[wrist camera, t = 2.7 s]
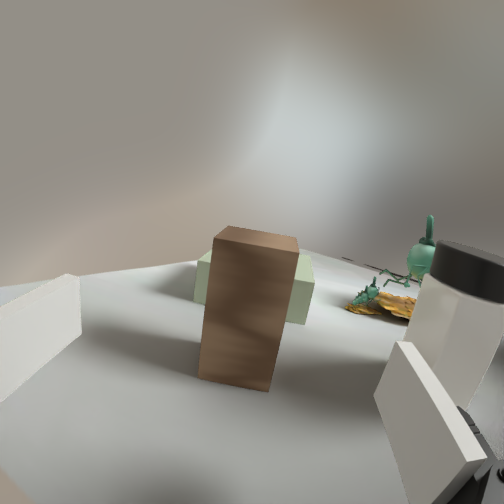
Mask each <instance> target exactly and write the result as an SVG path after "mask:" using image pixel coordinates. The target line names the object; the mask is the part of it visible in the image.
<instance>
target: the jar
mask: <svg viewBox="0 0 504 504" xmlns="http://www.w3.org/2000/svg"><path fill="white" fill-rule="evenodd" d="M503 334H504V258H502V257H500V256H497V255H494V254H491V253H489V252H486V251H483V250H479V249H476V248H473V247H470V246H466V245H462V244H458V243H454V242H450V241H444V240H439V241H437V243H436V248H435V252H434V256H433V260H432V263H431V267H430V273H426V274H424V277H423V280H422V284H421V287H420V290H419V294H418V297H417V300H416V303H415V307H414V310H413V313H412V316H411V319H410V322H409V325H408V327H407V330H406V333H405V336H404V339H403V341H404V342H412V343H413V345H414V346H415V347H416V349H417V350H418V352H419V353H420V354H421V356H422V357H423V359H424V360H425V362H426V363H427V364H428V366H429V367H430V369H431V370H432V372H433V373H434V374H435V376H436V377H437V379H438V380H439V382H440V383H441V385H442V386H443V388H444V389H445V391H446V392H447V394H448V395H449V397H450V398H451V400H452V401H453V403H454V404H455V406H459V407H461V408H462V409H463V410H464V411H466V410H467V408H468V406H469V404H470V403H471V401H472V399H473V397H474V395H475V394H476V392H477V390H478V388H479V386H480V384H481V382H482V380H483V378H484V376H485V374H486V372H487V370H488V368H489V366H490V364H491V362H492V360H493V357H494V355H495V353H496V351H497V348H498V346H499V344H500V341H501V339H502V336H503Z"/></svg>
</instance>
